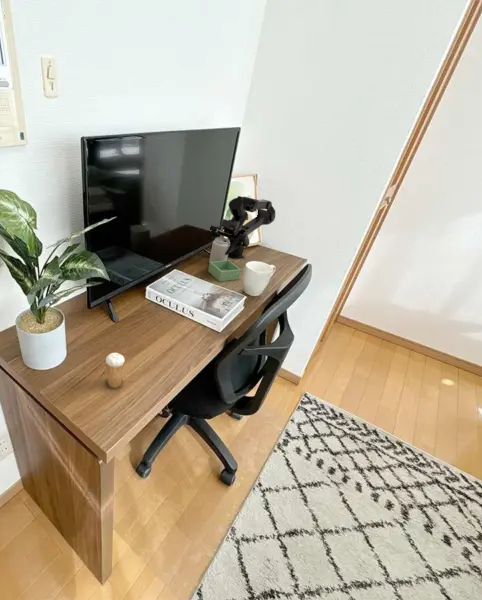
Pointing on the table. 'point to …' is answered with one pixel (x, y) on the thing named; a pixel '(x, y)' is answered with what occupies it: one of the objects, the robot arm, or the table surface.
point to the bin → (224, 270)
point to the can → (219, 249)
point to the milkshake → (114, 369)
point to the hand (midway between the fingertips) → (218, 251)
